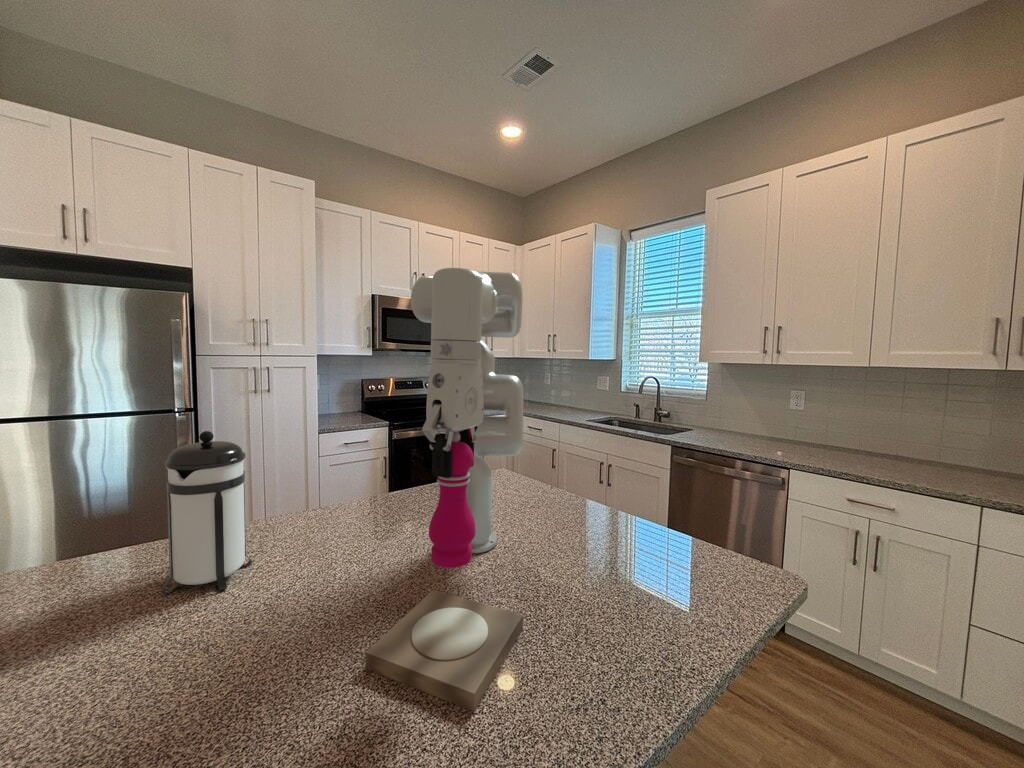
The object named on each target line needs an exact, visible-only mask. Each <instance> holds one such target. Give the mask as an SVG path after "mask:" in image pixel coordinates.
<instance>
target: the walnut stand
mask: <svg viewBox="0 0 1024 768" xmlns="http://www.w3.org/2000/svg"><path fill="white" fill-rule="evenodd" d="M523 626H524V614H521V613H518V612H513V611H510V610H506V609H503V608H499V607H496V606H492V605H489V604H485V603H482V602H479V601H476V600H471V599H468V598H464V597H461V596H457V595H453V594H452V593H447V592H443V591H441V590H440V591H439V590H436V589H432V590H431V591H430V592H429V593H427V594H426V596H425V597H423V599H421V601H419V602H418V603H417V604H416V605H415V606H414V607H413V608H412V609H411V610H410V611H408V613H406V614H405V615H404V617H402V618H401V619H400V620H399V621H398V622H397V623H396V624H395V625H394V626H393V627H391V628H390V630H388V631H387V632H386V633H385V634H384V635H382V637H380V639H379V640H377V641H376V643H374V644H373V645H372V646H371V647H370V648H369V649H368V650H367V651H366V652H365V670H368V671H371V672H374V673H376V674H378V675H381V676H383V677H386V678H389V679H391V680H394V681H395V682H399V683H401V684H403V685H407V686H409V687H411V688H414V689H416V690H418V691H421V692H423V693H426V694H429V695H431V696H433V697H436V698H439V699H441V700H444V701H447V702H450V703H451V704H454V705H457V706H459V707H461V708H464V709H467V710H469V711H471V712H475V711H476V710H477V707H478V706H479V705H480V702H481V701H482V699H483V697H484V696H485V694H486V693H487V690H488V689H489V688H490V685H491V684H492V682H493V680H494V678H495V677H496V675H497V674H498V672H499V671H500V668H501V666H502V665H503V663H504V661H505V660H506V657H508V654H509V653H510V651H511V649H512V648H513V646H514V644H515V643H516V642H517V640H518V638H519V636H520V634H521V633H522V630H523Z"/></svg>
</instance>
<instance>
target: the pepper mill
mask: <svg viewBox="0 0 1024 768" xmlns="http://www.w3.org/2000/svg"><path fill="white" fill-rule="evenodd" d="M459 440H460V434H459V433H458V432H453V437H452V442H451V446H450V450H453V463H452V477H450V478H444V477H438V476H437V479H436V482H437V483H438V484H439V497H438V502H437V504H436V508H435V510H434V513H433V515H432V516H431V520H430V523H429V526H428V538H429V540H430V541H431V543H432V544H433V545H432V546H431V553H430V554H431V557H430V559H431V562H432V563H433V564H434V565H436V566H437V567H441V568H446V569H449V568H450V569H453V568H454V569H455V568H458V567H459V568H460V567H463V566H465V565H467V564H469V563H471V560H472V558H473V554H472V546H471V544H470V542H471V541H472V540H473V539H474V537H475V533H476V530H475V522H474V518H473V515H472V513H471V510H470V508H469V505H468V502H467V494H466V489H467V484H468V483H469V482H470V479H469V476H470V473H469V472H468V470H469V469H470V467H471V466H472V464H473V460H474V456H473V452H472V450H471V448H470V447H469V446H468V445H467V444H465V443H463V442H460V441H459Z"/></svg>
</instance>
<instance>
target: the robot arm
mask: <svg viewBox="0 0 1024 768" xmlns="http://www.w3.org/2000/svg"><path fill="white" fill-rule="evenodd" d="M410 306H411V309H412V313H413V314H414V316H415V317H416V319H417V320H419V321H420V322H422V323H426V324H428V323H429V324H431V326H430V327H431V328H430V332H431V333H430V334H431V335H430V340H431V341H430V367H429V374H428V382H427V389H426V390H427V391H426V392H427V393H426V409H425V410H426V411H425V412H426V413H425V414H426V420H425V421H424V423H423V426H422V427H421V428H422V429H421V430H422V433H423V435H424V436H425V437H426V440H427V441H428V443H429V449H430V450H431V475H432V476H433V477H437V478H438V477H444V478H450V477H452V463H453V450H450V446H451V442H452V437H453V432H458V433H459V434H460V440H459V441H460V442H463V443H465V444H467V445H468V446H469V447H470V448H471V450H472V452H473V456H474V460H473V464H472V466H471V467H470V469H469V470H468V472H469V473H470V476H469V479H470V482H469V483H468V484H467V489H466V494H467V502H468V505H469V508H470V510H471V513H472V515H473V518H474V522H475V530H476V533H475V537H474V539H473V540H472V541H471V542H470V544H471V546H472V555H473V554H481V553H486V552H488V551H491V550H492V549H494V548H495V546H496V545H497V543H498V537H497V535H496V533H495V532H493V531H492V515H493V514H492V510H493V509H492V508H493V479H494V477H493V471H492V467H491V466H490V465H489V463H488V462H487V461H486V459H485V458H484V457H489V456H491V457H515V456H517V455H519V454H520V452H521V451H522V448H523V445H524V444H523V442H524V386H523V383H522V381H521V379H520V377H518V376H516V375H513V374H502V373H501V374H496V373H495V370H496V369H495V366H496V357H495V354H494V353H493V351H492V350H491V348H490V347H489V346H488V344H487V343H485V342H484V340H483V339H482V338H503V339H504V338H507V339H509V338H510V339H511V338H514V337H516V336H518V335H519V333H520V330H521V328H522V327H521V326H522V319H523V318H522V314H523V313H522V312H523V288H522V283H521V281H520V279H519V277H518V276H517V275H516V274H515V273H512V272H503V271H502V272H497V271H496V272H495V271H475V270H472V269H468V268H462V267H445V268H441V269H439V270H436V271H435V272H434V274H433V275H426V276H421V277H419V278H418V279H417V280H416V281H415V282H414V284H413V287H412V289H411V293H410ZM484 413H502V414H504V416H497V415H496V416H494V415H493V416H492V415H491V416H489V415H484ZM441 434H445V436H444V437H443V435H441Z"/></svg>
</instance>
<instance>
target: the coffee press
mask: <svg viewBox="0 0 1024 768" xmlns="http://www.w3.org/2000/svg"><path fill="white" fill-rule="evenodd" d="M213 439H214V434H213V432H212V431H209V430H204V431H203V432H201V433H200V435H199V440H200V441H201V442H193V443H190V444H185V445H181V446H180V447H177V448H176V449H174V450H172V451H171V452H170V453H169V455H168V458H167V459H166V460H164V466H165V468H166V469H167V479H166V491H167V494H166V496H167V497H166V498H167V499H166V501H167V502H166V503H167V525H168V526H167V532H168V533H167V534H168V535H167V537H168V561H169V562H168V565H169V568H168V569H169V570H168V571H169V575H168V577H167V579H166V581H165V582H164V584H163V585H162V587H161V590H162V592H163V593H164V594H166V595H167V594H171V593H172V592H173V591H174V590H175V589H176V588H177V587H178V586H179V585H188V586H196V585H204V584H208V583H212V582H213V584H214V586H215V589H216V590H215V591H216V592H217V593H219V592H222V591H225V590H226V589H227V588H228V587H227V586H228V585H227V580H226V578H227V577H229V576H231V575H233V574H234V573H235V572H237V571H238V570H239V569H240V568H241V567H242V566H244V567H246V568H247V567H249V566H250V567H251V565H252V563H253V560H252V559H251V558H250V557H249V556H248V555H247V549H246V513H245V512H246V511H245V510H246V508H245V507H246V504H245V503H246V502H245V498H246V495H245V481H246V473H245V472H246V471H245V470H244V462H245V459H246V456H247V455H246V452H244V451H243V449H242V447H241V446H240V445H238V444H236V443H234V442H231V441H224V440H223V441H220V440H215V441H214V440H213ZM245 557H246V558H248V561H247V563H244V562H245ZM172 580H173V581H175V582H174V583H173V584H172V586H171V587H169V589H167V590H166V588H168V585H169V584H170V583H171V581H172Z"/></svg>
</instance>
